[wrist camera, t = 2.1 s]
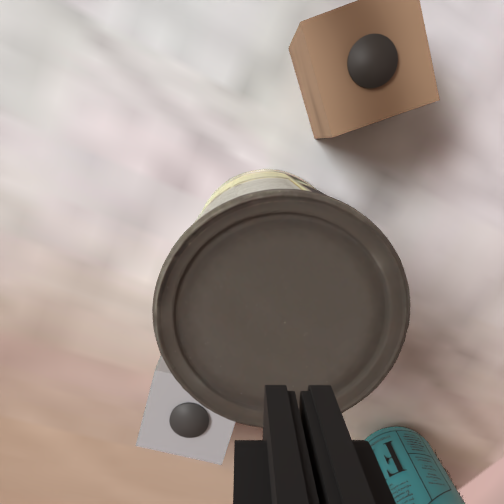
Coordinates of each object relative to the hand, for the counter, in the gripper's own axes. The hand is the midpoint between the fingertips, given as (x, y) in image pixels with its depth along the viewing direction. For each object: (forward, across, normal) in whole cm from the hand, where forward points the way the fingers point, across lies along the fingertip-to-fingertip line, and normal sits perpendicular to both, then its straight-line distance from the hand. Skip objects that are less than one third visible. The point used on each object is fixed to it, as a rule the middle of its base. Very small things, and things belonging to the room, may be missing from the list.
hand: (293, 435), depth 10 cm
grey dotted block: (+20, +5, +10) cm, 23 cm away
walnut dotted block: (+20, -5, -12) cm, 24 cm away
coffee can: (+20, 0, -1) cm, 20 cm away
